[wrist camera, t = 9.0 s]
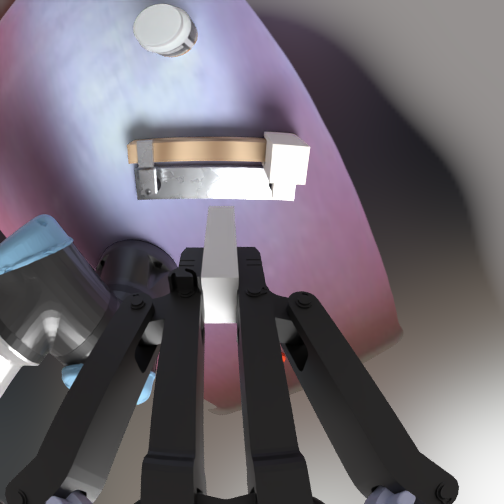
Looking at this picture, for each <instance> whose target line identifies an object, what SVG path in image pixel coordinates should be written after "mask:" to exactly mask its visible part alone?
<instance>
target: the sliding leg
mask: <svg viewBox="0 0 504 504" xmlns="http://www.w3.org/2000/svg"><path fill="white" fill-rule="evenodd" d="M264 137H265V139H266V140H267V144H266V157H265V162H262V165H263V168H264V170H265V173H266V175H267V178H268V181H269V183H272V190H271V197H272V200H288V198H289V190H290V184H300V185H305V181H306V174H307V167H308V159H309V152H310V146H308V145H307V144H306V143H305V142H304V141H303V140H301V139H300V138H299V137H298V136H297V135H295V134H292V133H280V132H265V131H264Z"/></svg>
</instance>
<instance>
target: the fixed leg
mask: <svg viewBox="0 0 504 504" xmlns="http://www.w3.org/2000/svg"><path fill="white" fill-rule="evenodd" d="M137 156H138V168H141V169H140V170H139V178H140V188H141V195H146V194H147V195H150V194H156V193H157V179H156V168H143V167H154V166H155V163H154V145H153V140H140V141H137Z"/></svg>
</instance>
